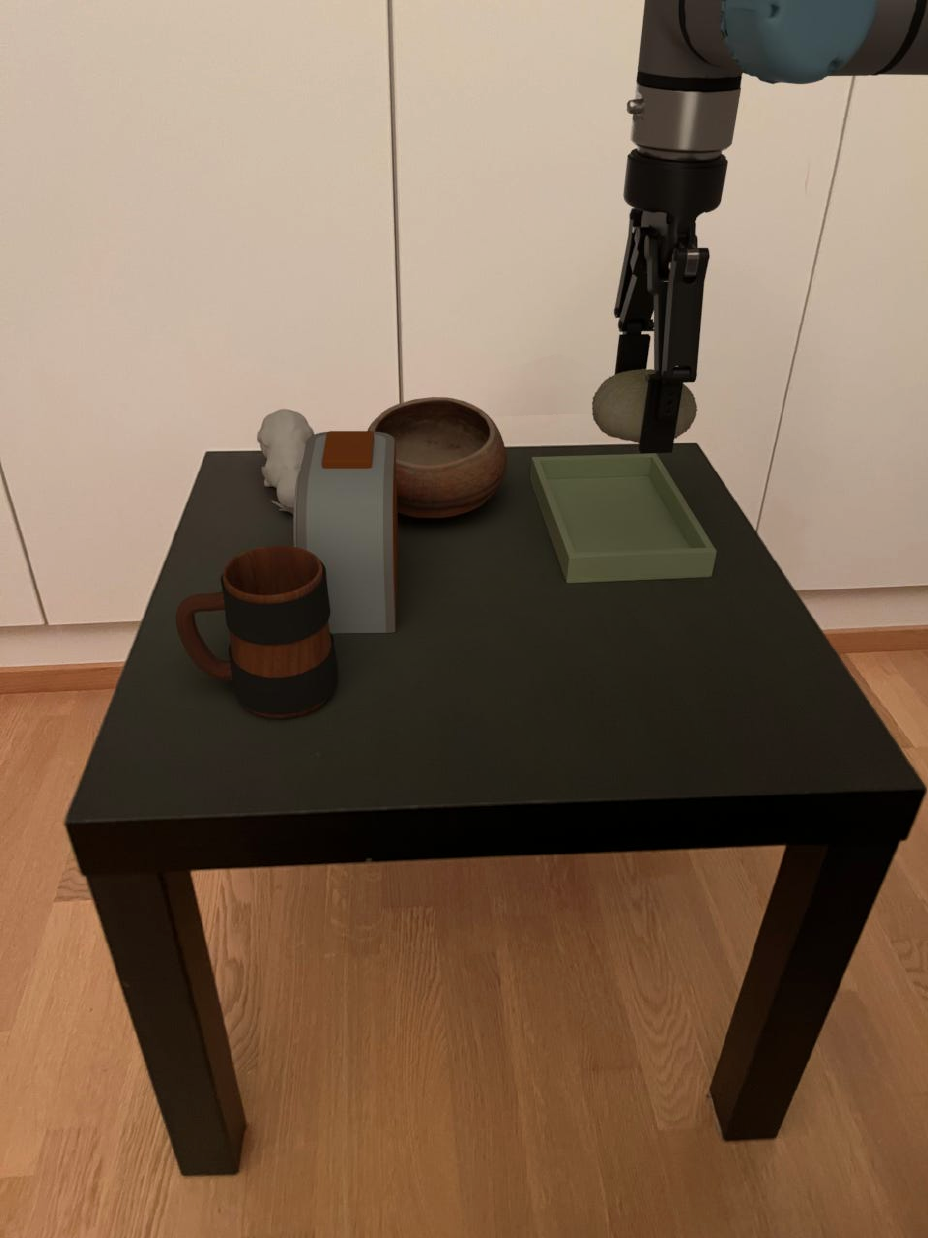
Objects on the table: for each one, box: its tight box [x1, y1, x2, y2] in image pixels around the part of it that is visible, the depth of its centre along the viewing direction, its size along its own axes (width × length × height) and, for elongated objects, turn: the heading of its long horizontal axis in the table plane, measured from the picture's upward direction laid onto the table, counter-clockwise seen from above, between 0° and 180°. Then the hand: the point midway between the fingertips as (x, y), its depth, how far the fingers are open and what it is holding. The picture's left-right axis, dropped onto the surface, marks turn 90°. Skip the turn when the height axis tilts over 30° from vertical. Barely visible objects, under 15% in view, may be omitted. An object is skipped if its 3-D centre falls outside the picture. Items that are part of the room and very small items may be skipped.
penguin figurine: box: [256, 408, 315, 515], centre depth 103 cm, size 6×8×12 cm
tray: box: [529, 453, 717, 584], centre depth 101 cm, size 22×15×3 cm
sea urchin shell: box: [591, 368, 698, 445], centre depth 84 cm, size 9×8×8 cm
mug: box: [175, 545, 339, 720], centre depth 75 cm, size 9×12×12 cm
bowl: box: [367, 396, 508, 519], centre depth 102 cm, size 16×16×10 cm
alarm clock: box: [292, 430, 399, 634], centre depth 87 cm, size 15×8×14 cm, turn 2°
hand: (640, 426), depth 85 cm, fingers closed on sea urchin shell, 9 cm apart
